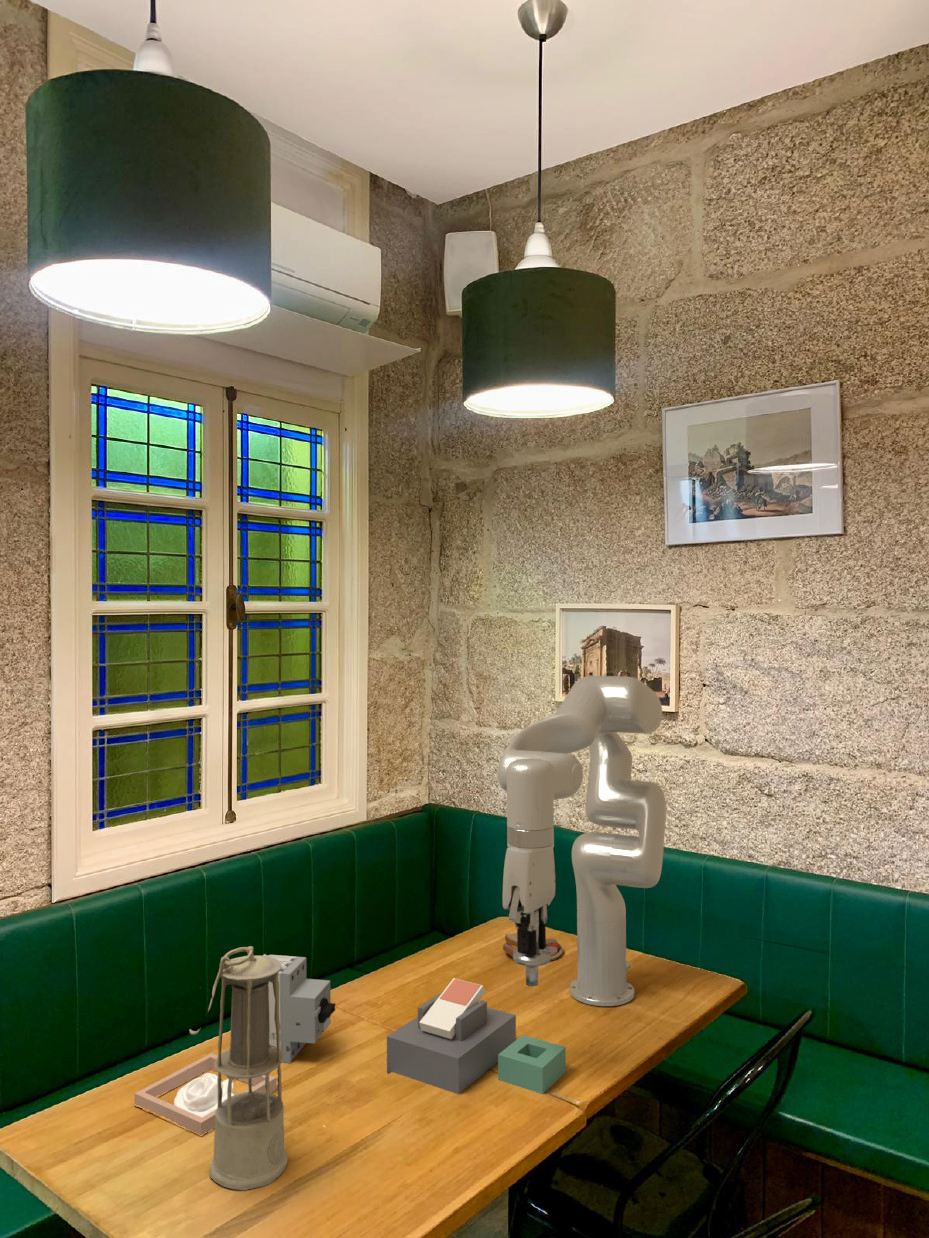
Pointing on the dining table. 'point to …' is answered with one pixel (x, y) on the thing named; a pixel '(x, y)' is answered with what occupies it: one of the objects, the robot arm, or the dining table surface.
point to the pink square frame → (169, 1111)
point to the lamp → (248, 1077)
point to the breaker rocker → (451, 1007)
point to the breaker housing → (451, 1047)
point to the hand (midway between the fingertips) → (531, 949)
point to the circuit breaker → (298, 1007)
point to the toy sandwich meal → (550, 945)
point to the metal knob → (533, 961)
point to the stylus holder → (532, 1064)
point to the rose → (201, 1095)
